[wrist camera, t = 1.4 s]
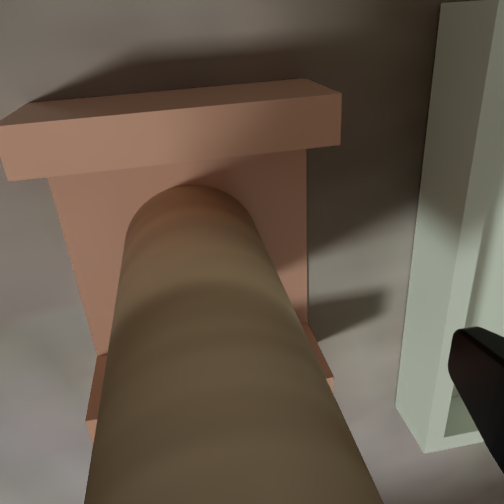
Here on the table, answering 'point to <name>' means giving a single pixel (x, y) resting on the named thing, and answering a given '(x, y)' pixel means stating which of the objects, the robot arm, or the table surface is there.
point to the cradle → (173, 175)
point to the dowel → (214, 372)
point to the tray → (456, 222)
